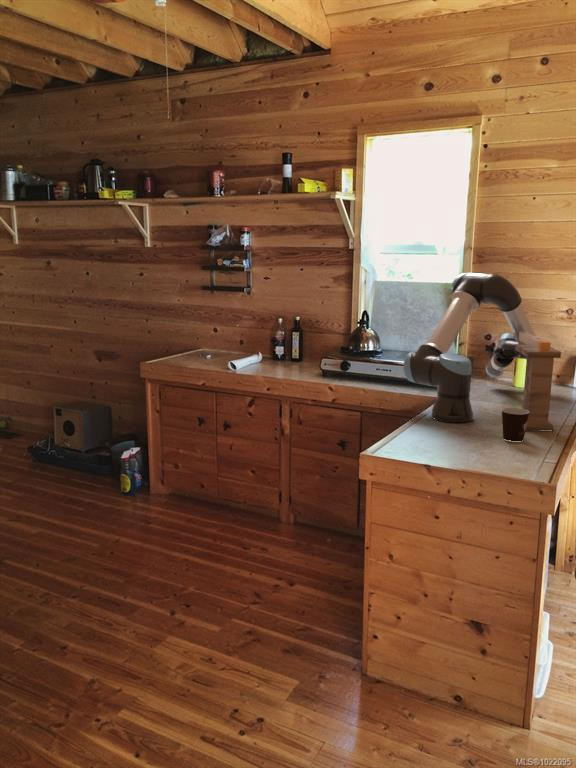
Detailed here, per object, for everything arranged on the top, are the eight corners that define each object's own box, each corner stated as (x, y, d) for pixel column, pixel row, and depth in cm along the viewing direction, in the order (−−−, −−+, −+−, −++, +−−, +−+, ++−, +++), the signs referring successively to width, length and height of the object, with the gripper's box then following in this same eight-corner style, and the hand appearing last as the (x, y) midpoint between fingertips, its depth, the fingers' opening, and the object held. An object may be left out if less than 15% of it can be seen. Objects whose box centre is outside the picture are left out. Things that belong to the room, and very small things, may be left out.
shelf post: (553, 431, 228) (561, 352, 221) (521, 430, 228) (527, 351, 222) (539, 418, 243) (546, 344, 237) (509, 418, 244) (515, 344, 238)
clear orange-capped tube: (549, 352, 222) (550, 342, 221) (539, 351, 222) (539, 342, 221) (527, 340, 247) (528, 331, 246) (518, 339, 247) (518, 331, 246)
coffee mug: (513, 445, 213) (515, 415, 210) (494, 438, 220) (496, 409, 218) (539, 440, 218) (541, 411, 216) (519, 433, 225) (521, 405, 223)
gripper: (533, 368, 275) (549, 350, 254) (472, 367, 276) (484, 350, 256) (531, 351, 277) (547, 332, 257) (471, 350, 278) (483, 332, 258)
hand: (516, 341), depth 256 cm, fingers open, 13 cm apart
